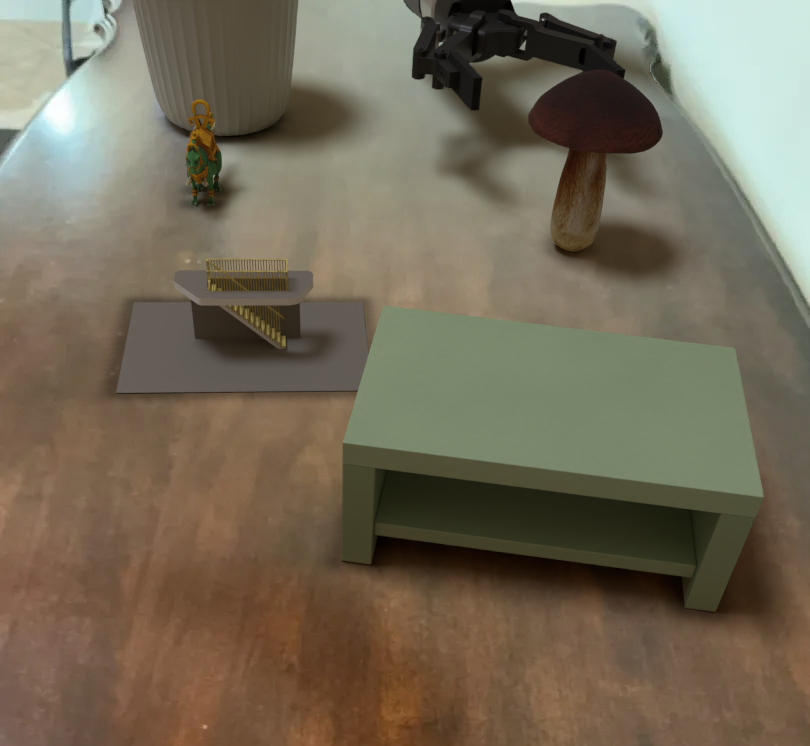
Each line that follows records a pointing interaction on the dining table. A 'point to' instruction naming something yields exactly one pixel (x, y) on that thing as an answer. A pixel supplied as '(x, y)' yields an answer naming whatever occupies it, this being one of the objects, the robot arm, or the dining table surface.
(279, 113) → the canister
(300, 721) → the dining table surface
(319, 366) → the platform
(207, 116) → the figurine
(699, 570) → the shelf
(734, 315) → the dining table surface
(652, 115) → the decorative mushroom
